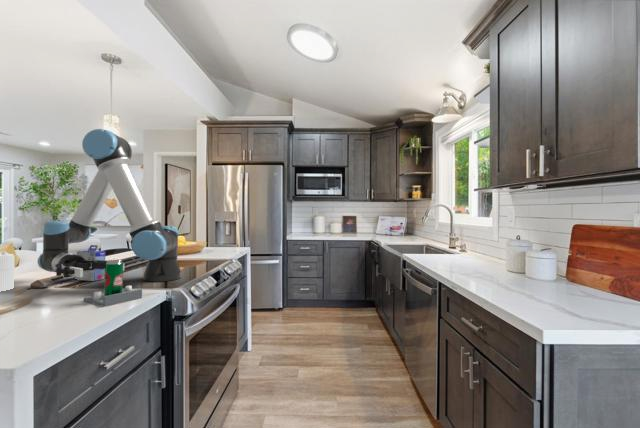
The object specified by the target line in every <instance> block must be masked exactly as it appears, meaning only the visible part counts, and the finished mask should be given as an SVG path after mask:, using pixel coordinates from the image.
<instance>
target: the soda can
mask: <svg viewBox="0 0 640 428" xmlns="http://www.w3.org/2000/svg"><path fill="white" fill-rule="evenodd" d="M106 261H107V263H106V264H105V278H104V291H103V292H104V293H103V294H104V296H108V295H113V294H118V293H122V291H123V286H124V285H123V282H124V277H123V276H124V271H123V263H124V262H123V260H122V259H108V260H106Z"/></svg>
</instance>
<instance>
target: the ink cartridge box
mask: <svg viewBox="0 0 640 428" xmlns="http://www.w3.org/2000/svg"><path fill="white" fill-rule="evenodd" d="M93 247H94V248H93ZM98 247H99V245H97V244H96V245H94V244H91V245H90V246H89V247H88V249H87V250H76V255H80V256H82V257H83V258H84V259H85V260H88V261H90V260H101V261H106V251H105V250H97V248H98ZM90 268H92V266H91V267H90ZM74 279H77V281H90V282H96V281H101V280H105V269H94V270H86V271H83V277H76V276H74Z"/></svg>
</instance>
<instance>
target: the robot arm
mask: <svg viewBox="0 0 640 428" xmlns="http://www.w3.org/2000/svg"><path fill="white" fill-rule="evenodd" d="M81 143H82V144H81V145H82V146H81V147H82V149H83V152H84V153H85V154H86V155H87V156H88V157H89V158H92V160H93V162H94V164H95V166H96V168H97V172H96V174H95V176H94V177H93V179H92V181H91V183H90V185H89V187H88V189H87V191H86V192H85V194H84V196H83V197H82V199H81V201H80V203H79V204H78V206H77V208H76V210H75V212H74V213H73V216H72V218H71V219H70V221H69V222H68V221H65V220H49V221H48V220H47V221H45V222H44V223H43V225H44V226H43V230H42V232H43V234H42V237H43V238H42V239H43V240H42V244H43V245H42V246H43V247H42V253H41V254H40V255H39V256H38V258H37V265H38V267H39V268H40V269H42V270H44V271H47V272H50V273H55V274H56V275H55V276H57V277H60V276H62V274H63V278H68V277H69V276H72V277H75V276H76V277H83V271H86V270H94V269H105V264H106V263H107V261H108V260H105V261H101V260H90V261H88V260H85V259H84V258H83V257H82V256H80V255H77V254H73V253H69V245H71V244H80V243H83V242H85V241H87V240H89V239H90V237H91V236H92V231H91V228H92V226H93V223H94V222H95V220H96V218H97V216H98V215H99V213H100V210H101V209H102V207H103V206H104V205H105V202H106V200H107V199H108V197H109V195H110V194H111V191H112V190H113V192H114V194H115V196H116V199H117V201H118V203H119V205H120V207H121V209H122V212H123V213H124V215H125V218H126V219H127V222H128V224H129V225H130V227H131V228H130V231H129V235H130V239H131V240H132V241H131V245H130V246H131V249H132V252H133V254H134V255H135V256H136V257H138V258H139V259H141V260H144V261H147V264H146V266H145V269H144V272H143V275H142V280H143V281H145V282H170V281H175V280H179V279H181V278H182V272H181V268H180V264H179V261H178V248H179V247H178V246H179V243H178V241H179V230H178V229H179V228H177V227H176V226H171V225H170V226H169V225H162V224H161V221H159V220H157V219H154V216H153V213H152V212H151V210H150V208H149V205H148V204H147V202H146V200H145V197H144V195H143V193H142V191H141V189H140V187H139V185H138V183H137V181H136V179H135V177H134V174H133V172H132V171H131V169H130V167H129V164H130V161H131V158H132V155H133V154H132V153H133V150H132V146H131V145H130V143H129V142H128V141H127V140H126V139H125V138H123V137H120V136H119V135H117V134H115V133H113V132H112V131H110V130H108V129H103V128H96V129H93V130H90V131H89V132H87V133H86V134H85V135H84V137H83V139H82V142H81ZM125 265H126V264H125V262H123V272H125ZM91 266H92V268H90V267H91Z"/></svg>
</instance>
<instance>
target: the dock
mask: <svg viewBox="0 0 640 428" xmlns="http://www.w3.org/2000/svg"><path fill="white" fill-rule="evenodd" d="M132 288H133V286H132V285H126V286H124V290H122V293H118V294H113V295H108V296H104V293H102V291H101V290H100V291H94V292H93V295H92V296H86V297H85V296H84V297H83V302H87V303H90V304H93V303H94V305H97V304H98V306H101V305H102V306H101V307H109V305H110V306H114V305H117V304H122V303H127V302H131V301H135V300H139V299H142V298H143V288H138V289H137V288H136V289H135V290H134V289H132Z"/></svg>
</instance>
